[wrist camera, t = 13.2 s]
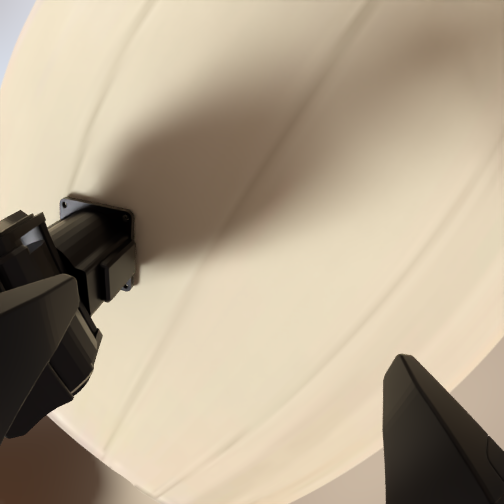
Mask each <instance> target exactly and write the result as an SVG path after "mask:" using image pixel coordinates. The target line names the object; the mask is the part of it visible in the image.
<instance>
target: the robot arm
mask: <svg viewBox="0 0 504 504" xmlns="http://www.w3.org/2000/svg"><path fill="white" fill-rule="evenodd" d="M65 202H66V204H67V206H66V205H65ZM125 215H127V216H128V218H129V219H128V220H127V219H126V218H125ZM45 221H46V219H45V217H44V214H43V212H42V213H39V214H37V215H35V216H34V215H33V213H32V214H30V215H27V214H25V213H24V212H23V211H21V210H20V211H18V212H16V213H14V214H12V215H10V216H8V217H7V218H5V219H3V220H1V221H0V445H1V443H2V441H3V439H4V437H6V438H15V437H18V436H23V435H25V434H26V433H27V432H28V431H29V430H30V429H31V428H32V427H33V426H35V424H37V423H38V422H39V421H40V420H41V419H42V418H43V417H44V416H46V415H47V414H48V413H50V412H51V411H53V410H54V409H56V408H57V407H59V406H62V405H64V404H66V403H68V402H70V401H72V400H73V398H74V397H73V396H74V395H76V394H77V393H78V392H79V391H81V389H82V388H83V387H84V386H85V385H86V383H87V382H88V380H89V378H90V376H91V374H92V372H93V369H94V362H95V359H96V356H97V352H98V349H99V346H100V343H101V340H102V336H103V335H102V333H101V332H100V330H99V329H98V328H96V326H95V324H94V322H93V321H92V319H91V316H92V315H93V313H94V312H95V311H96V310H97V309H98V308H99V306H100V305H101V304H102V303H103V302H107V303H108V302H110V301H111V300H112V299H113V298H114V297H115V296H116V294H117V293H118V292H119V291H120V290H123V291H130V290H131V288H132V287H133V275H134V274H135V255H136V243H135V241H134V214H133V212H132V211H131V210H128V209H123V208H118V207H114V206H109V205H104V204H99V203H94V202H89V201H84V200H79V199H74V198H69V197H65V198H63V199H61V201H60V220H59V221H57V222H55V223H54V224H52V225H50V226H49V227H47V226H46V223H45ZM125 284H127V285H128V286H127V285H125ZM383 444H384V459H385V484H386V504H504V451H503V450H502V449H501V448H500V447H499V446H498V445H497V444H496V443H495V442H494V440H493V439H492V438H491V437H490V436H488V434H487V433H486V432H485V431H484V430H483V429H482V427H481V426H480V425H479V424H478V423H477V422H476V421H475V420H474V419H473V418H472V417H471V416H470V415H469V414H468V413H467V411H466V410H465V409H464V408H463V407H462V406H461V405H460V404H459V403H458V402H457V401H456V400H455V399H454V398H453V397H452V396H451V395H450V394H449V393H448V392H447V391H446V389H445V388H444V387H443V386H442V385H441V384H440V383H439V382H438V381H437V380H436V379H435V378H434V377H433V376H432V375H431V374H430V373H429V372H428V371H427V370H426V369H425V368H424V367H423V366H422V365H421V364H420V363H419V362H418V361H417V360H416V359H415V358H414V357H413V356H412V355H407V354H398V355H397V356H396V357H395V359H394V361H393V362H392V364H391V366H390V367H389V369H388V371H387V372H386V374H385V376H384V380H383Z"/></svg>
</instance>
